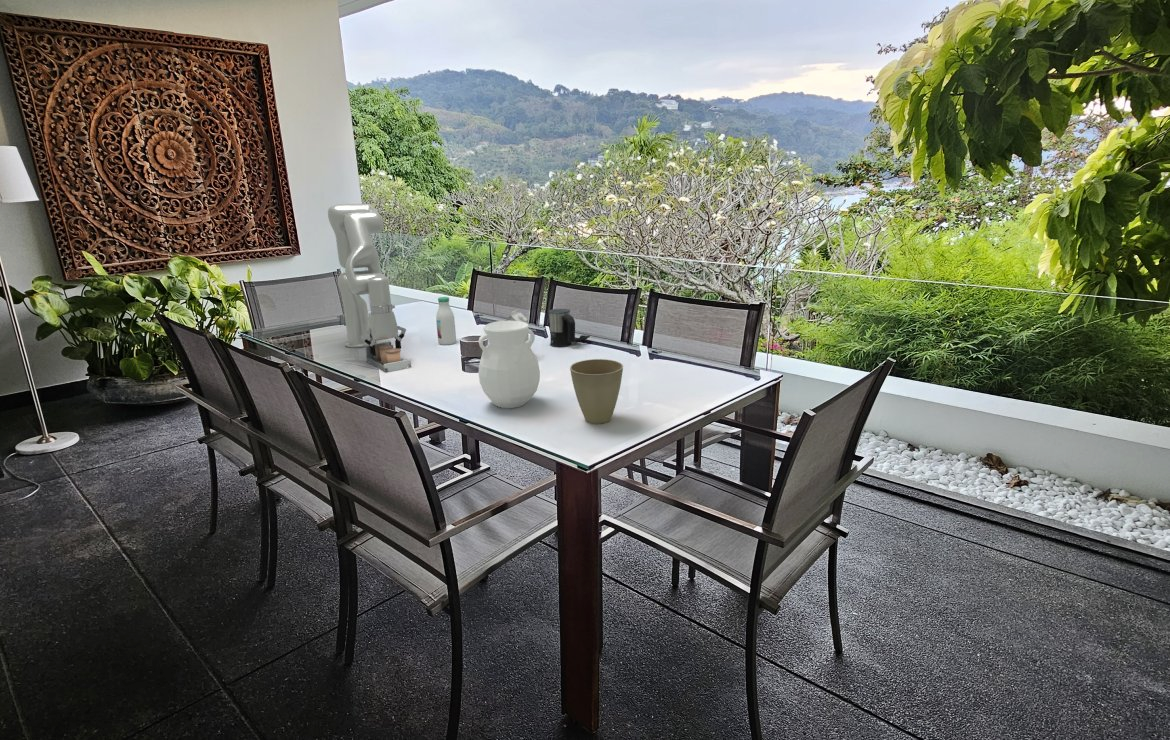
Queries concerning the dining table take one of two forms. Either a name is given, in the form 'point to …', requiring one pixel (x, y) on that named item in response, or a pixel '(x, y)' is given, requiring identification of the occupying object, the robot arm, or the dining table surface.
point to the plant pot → (597, 387)
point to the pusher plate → (377, 357)
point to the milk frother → (562, 328)
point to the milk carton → (518, 319)
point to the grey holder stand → (387, 366)
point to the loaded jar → (393, 355)
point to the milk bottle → (445, 322)
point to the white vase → (508, 364)
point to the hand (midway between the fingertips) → (386, 353)
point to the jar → (384, 353)
